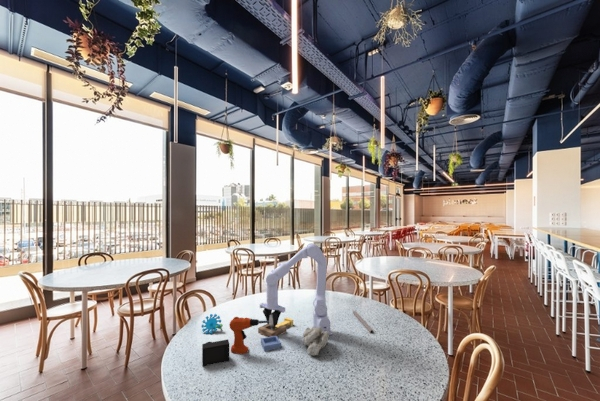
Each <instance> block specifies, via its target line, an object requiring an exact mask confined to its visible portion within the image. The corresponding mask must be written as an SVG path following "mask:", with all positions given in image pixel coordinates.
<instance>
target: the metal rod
mask: <svg viewBox="0 0 600 401" xmlns="http://www.w3.org/2000/svg"><path fill="white" fill-rule="evenodd" d="M352 314H353V315H354V317H355V318H356V319H357V320H358V321H359V322H360V323H361V324H362V326H363V327H364V328H365V329H366V330H367V331H368V332H369V334H374V332H375V331H374V330H373V328H371V327H370V325H369V324H368V323H367V322H366V320H364V319H363V317H362V316H361V315H360V314H359V313H358V312H357V311H356V310H353V311H352Z"/></svg>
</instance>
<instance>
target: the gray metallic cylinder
mask: <svg viewBox="0 0 600 401" xmlns="http://www.w3.org/2000/svg"><path fill="white" fill-rule="evenodd" d="M269 329H270V330H274V329H276V326H274V320H273V314H272V313H270V314H269Z"/></svg>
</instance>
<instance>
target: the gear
mask: <svg viewBox="0 0 600 401" xmlns="http://www.w3.org/2000/svg"><path fill="white" fill-rule="evenodd" d="M205 319H206V320H205ZM205 319H203V320H202V324H201V326H200V328H202V332H204V333H205V334H207V335H208V334H209V333H210V334H211V335H212V334H214V333H213V332H217V331H218V330H221V331H222V330H223V328H222V327H223V324H222V323H221V322H222V319H221V316H220V315H217V314H216V313H214V314H212V313H210V314H209V316H208V315H207V316H206V317H205ZM204 324H205V325H204Z"/></svg>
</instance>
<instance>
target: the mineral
mask: <svg viewBox="0 0 600 401" xmlns="http://www.w3.org/2000/svg"><path fill="white" fill-rule="evenodd" d="M302 336H303V337H302V338H303V339H302V343H303V345H305V346H308V347H307V352H308V353H309V355H311V356H315V357H316V356H318V355H319V353H320V350H322V349H324V348H325V347H326V345H327V342H328V341H329V340H328V339H329V336H330V335H329V332H328V331H324V332H323V331H322V329H321V328H320V327H311V328H310V327H308V328H306V329H305V331H303V333H302Z"/></svg>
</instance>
